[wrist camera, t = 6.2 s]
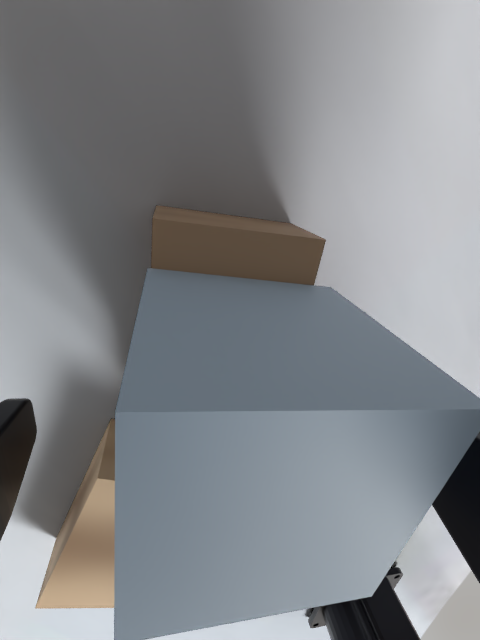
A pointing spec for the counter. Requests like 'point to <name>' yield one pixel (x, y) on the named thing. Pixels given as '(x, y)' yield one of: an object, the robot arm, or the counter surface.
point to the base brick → (233, 246)
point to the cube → (269, 452)
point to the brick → (86, 540)
